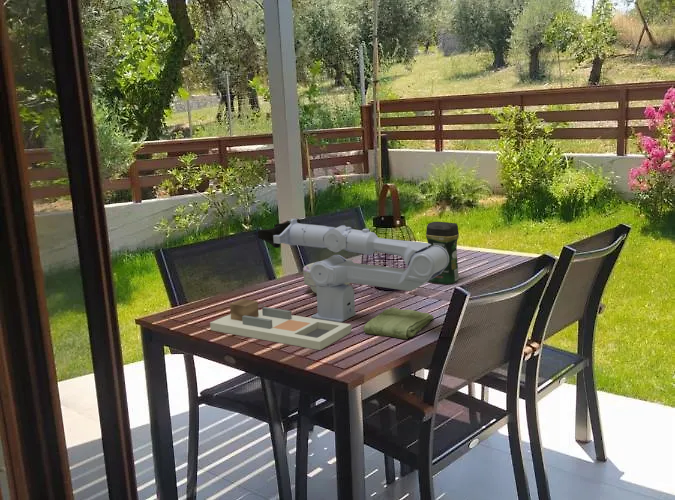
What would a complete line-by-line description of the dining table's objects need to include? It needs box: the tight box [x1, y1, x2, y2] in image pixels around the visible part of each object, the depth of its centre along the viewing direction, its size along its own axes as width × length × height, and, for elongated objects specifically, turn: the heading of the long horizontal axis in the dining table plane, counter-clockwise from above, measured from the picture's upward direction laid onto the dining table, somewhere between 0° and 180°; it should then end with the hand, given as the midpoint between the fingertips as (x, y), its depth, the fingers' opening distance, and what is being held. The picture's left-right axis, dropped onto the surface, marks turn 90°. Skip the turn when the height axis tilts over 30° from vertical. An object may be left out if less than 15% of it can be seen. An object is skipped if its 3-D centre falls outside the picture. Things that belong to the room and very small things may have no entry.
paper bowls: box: [302, 261, 351, 295], centre depth 205 cm, size 15×15×8 cm
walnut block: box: [229, 298, 259, 321], centre depth 175 cm, size 5×5×4 cm
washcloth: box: [363, 307, 435, 340], centre depth 170 cm, size 13×18×3 cm
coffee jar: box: [425, 221, 460, 285], centre depth 210 cm, size 10×8×19 cm
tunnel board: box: [209, 306, 352, 351], centre depth 170 cm, size 33×14×4 cm, turn 58°
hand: (267, 231), depth 186 cm, fingers open, 7 cm apart
